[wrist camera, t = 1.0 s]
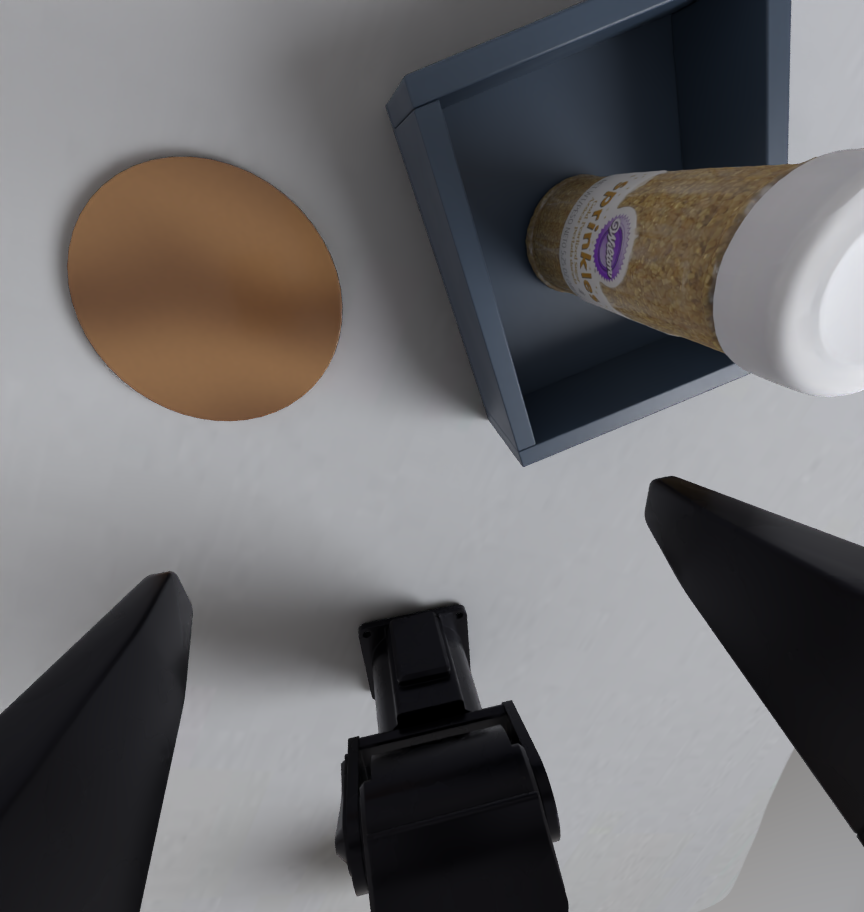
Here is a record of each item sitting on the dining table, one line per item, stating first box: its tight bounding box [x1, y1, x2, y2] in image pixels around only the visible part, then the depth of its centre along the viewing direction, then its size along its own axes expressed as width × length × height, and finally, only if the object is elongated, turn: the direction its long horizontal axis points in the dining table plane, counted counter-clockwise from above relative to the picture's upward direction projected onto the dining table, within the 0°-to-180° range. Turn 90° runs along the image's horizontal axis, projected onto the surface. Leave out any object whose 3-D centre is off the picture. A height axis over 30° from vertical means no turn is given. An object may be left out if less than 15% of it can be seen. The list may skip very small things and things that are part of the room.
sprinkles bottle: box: [525, 148, 864, 397], centre depth 15 cm, size 5×5×13 cm
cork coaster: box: [67, 157, 342, 421], centre depth 20 cm, size 10×10×1 cm
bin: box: [386, 0, 791, 467], centre depth 19 cm, size 14×12×5 cm
